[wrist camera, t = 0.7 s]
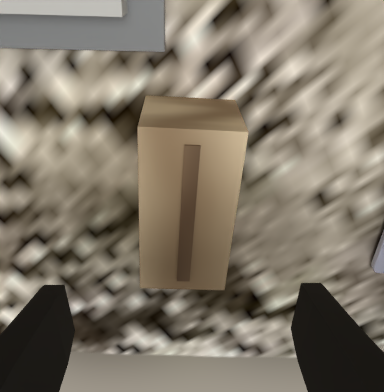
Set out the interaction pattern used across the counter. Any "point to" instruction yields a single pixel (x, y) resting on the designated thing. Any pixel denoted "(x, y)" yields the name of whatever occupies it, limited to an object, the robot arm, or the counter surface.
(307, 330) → the robot arm
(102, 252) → the counter surface
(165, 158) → the maple block
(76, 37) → the board
